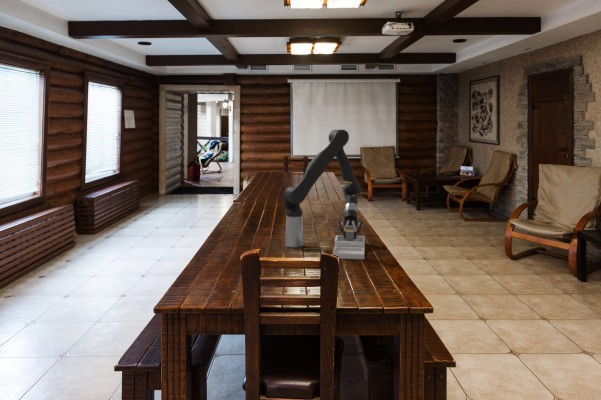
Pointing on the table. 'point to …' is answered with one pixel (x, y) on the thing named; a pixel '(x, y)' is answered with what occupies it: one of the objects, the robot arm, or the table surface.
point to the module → (349, 233)
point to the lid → (349, 252)
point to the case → (349, 242)
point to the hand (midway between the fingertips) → (349, 238)
